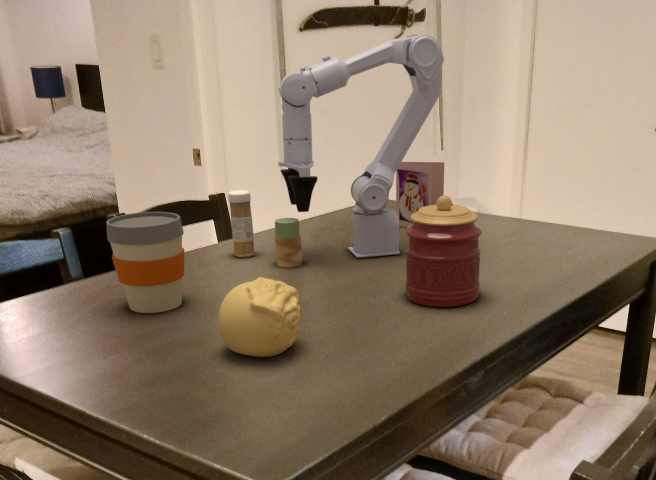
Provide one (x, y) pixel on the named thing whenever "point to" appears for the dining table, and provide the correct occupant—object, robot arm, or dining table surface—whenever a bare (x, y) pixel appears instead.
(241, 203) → the sprinkles bottle
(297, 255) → the pile bottom chip
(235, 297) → the sculpture
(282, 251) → the pile middle chip
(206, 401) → the dining table surface
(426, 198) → the greeting card
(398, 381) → the dining table surface
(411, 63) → the robot arm
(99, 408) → the dining table surface
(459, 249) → the kitchen canister
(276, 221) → the green short cylinder
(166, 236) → the reusable coffee cup
